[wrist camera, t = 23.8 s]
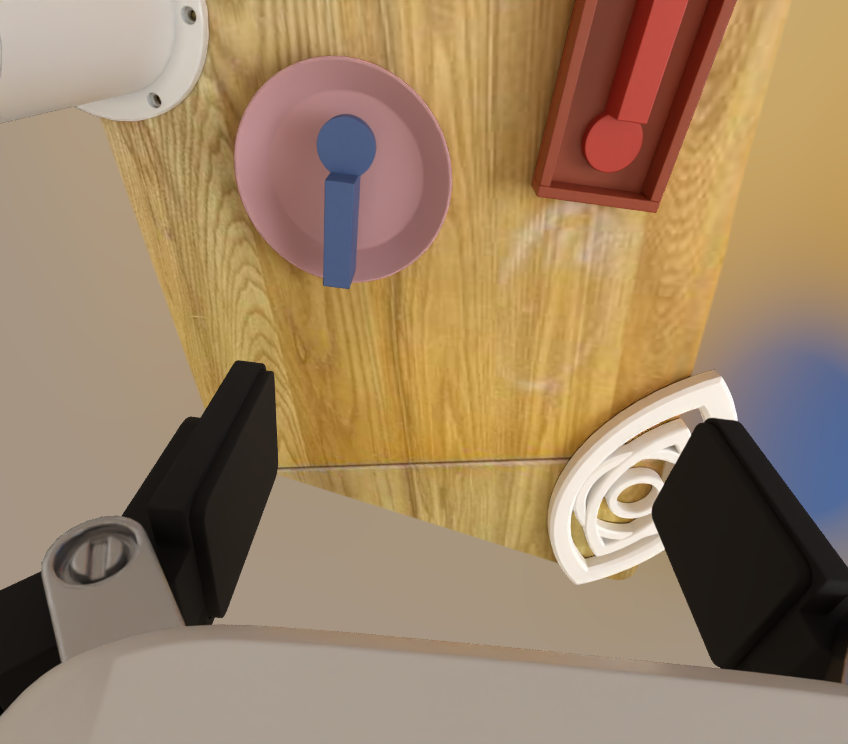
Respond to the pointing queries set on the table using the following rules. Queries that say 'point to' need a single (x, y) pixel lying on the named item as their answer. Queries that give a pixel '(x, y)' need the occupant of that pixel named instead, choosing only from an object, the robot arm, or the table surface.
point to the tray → (588, 94)
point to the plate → (305, 174)
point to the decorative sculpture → (626, 477)
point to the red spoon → (633, 85)
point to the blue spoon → (343, 192)
